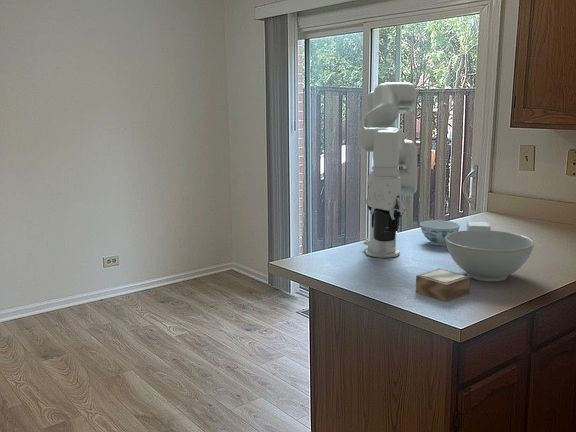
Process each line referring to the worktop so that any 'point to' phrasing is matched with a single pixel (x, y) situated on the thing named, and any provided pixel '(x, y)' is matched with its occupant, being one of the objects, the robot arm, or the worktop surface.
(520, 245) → the decorative bowl
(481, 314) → the worktop surface
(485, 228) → the supplement box
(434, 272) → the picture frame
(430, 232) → the chinaware
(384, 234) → the supplement bottle
